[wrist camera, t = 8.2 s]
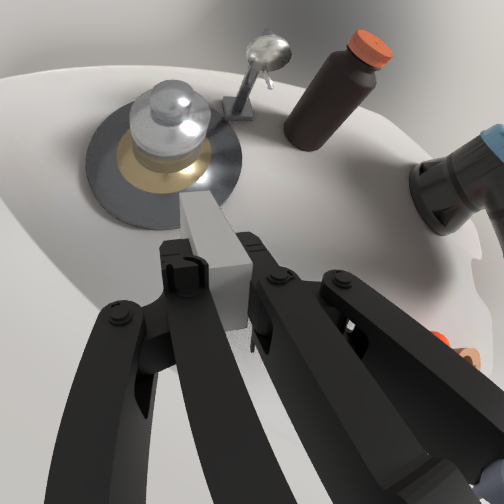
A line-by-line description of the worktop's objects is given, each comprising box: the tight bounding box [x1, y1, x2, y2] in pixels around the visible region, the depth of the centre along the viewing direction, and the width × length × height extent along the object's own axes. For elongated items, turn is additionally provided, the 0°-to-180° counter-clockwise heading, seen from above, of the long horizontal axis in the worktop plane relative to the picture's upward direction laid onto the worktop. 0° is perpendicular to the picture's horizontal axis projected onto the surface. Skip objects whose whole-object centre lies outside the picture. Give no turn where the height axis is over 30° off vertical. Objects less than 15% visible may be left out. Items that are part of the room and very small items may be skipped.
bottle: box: [284, 30, 392, 151], centre depth 32 cm, size 7×7×20 cm
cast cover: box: [129, 80, 211, 174], centre depth 29 cm, size 9×9×9 cm
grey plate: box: [86, 101, 242, 230], centre depth 33 cm, size 20×20×1 cm
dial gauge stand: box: [222, 29, 292, 121], centre depth 32 cm, size 5×8×16 cm, turn 11°
